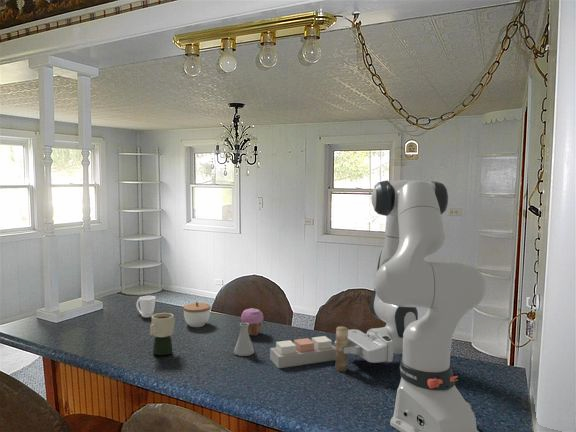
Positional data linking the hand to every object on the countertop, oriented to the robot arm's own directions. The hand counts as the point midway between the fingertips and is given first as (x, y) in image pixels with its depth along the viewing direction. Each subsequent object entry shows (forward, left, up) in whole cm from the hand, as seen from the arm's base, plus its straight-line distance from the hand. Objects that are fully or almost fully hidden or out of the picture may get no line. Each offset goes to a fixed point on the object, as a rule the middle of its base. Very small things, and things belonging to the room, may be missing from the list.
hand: (339, 347), depth 135 cm
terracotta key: (+11, +7, -4) cm, 14 cm away
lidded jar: (+58, +34, -7) cm, 68 cm away
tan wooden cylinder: (0, -1, -7) cm, 7 cm away
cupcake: (+40, +16, -7) cm, 44 cm away
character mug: (+31, +50, -7) cm, 59 cm away
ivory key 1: (+11, +13, -4) cm, 18 cm away
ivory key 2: (+11, +1, -4) cm, 12 cm away
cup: (+78, +53, -7) cm, 95 cm away
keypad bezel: (+11, +7, -7) cm, 15 cm away
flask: (+23, +24, -7) cm, 34 cm away
